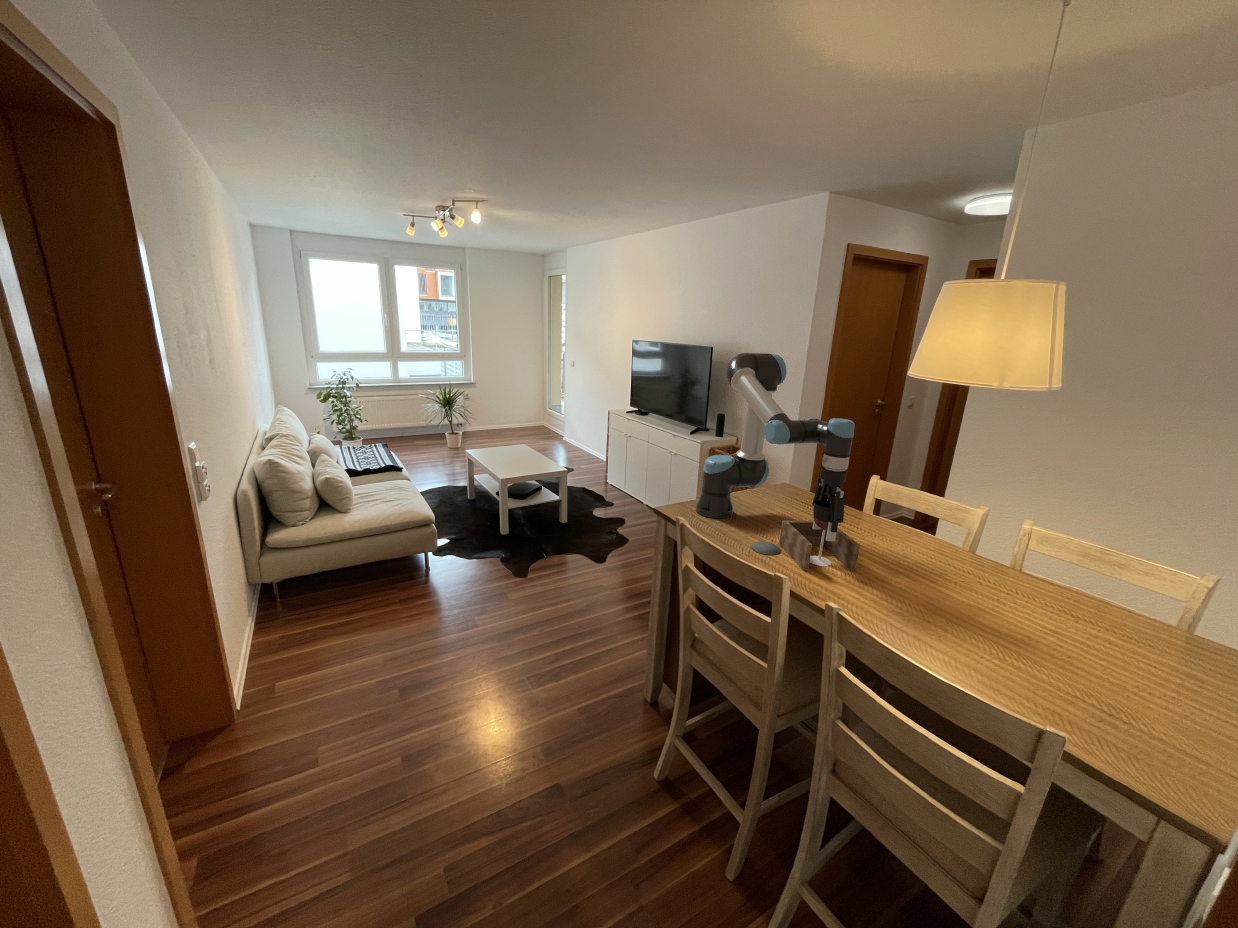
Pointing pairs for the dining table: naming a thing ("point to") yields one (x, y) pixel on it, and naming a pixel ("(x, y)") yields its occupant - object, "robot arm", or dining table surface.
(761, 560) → the dining table surface
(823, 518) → the wineglass
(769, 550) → the felt coaster
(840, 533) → the walnut u-shaped bracket
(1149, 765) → the dining table surface
